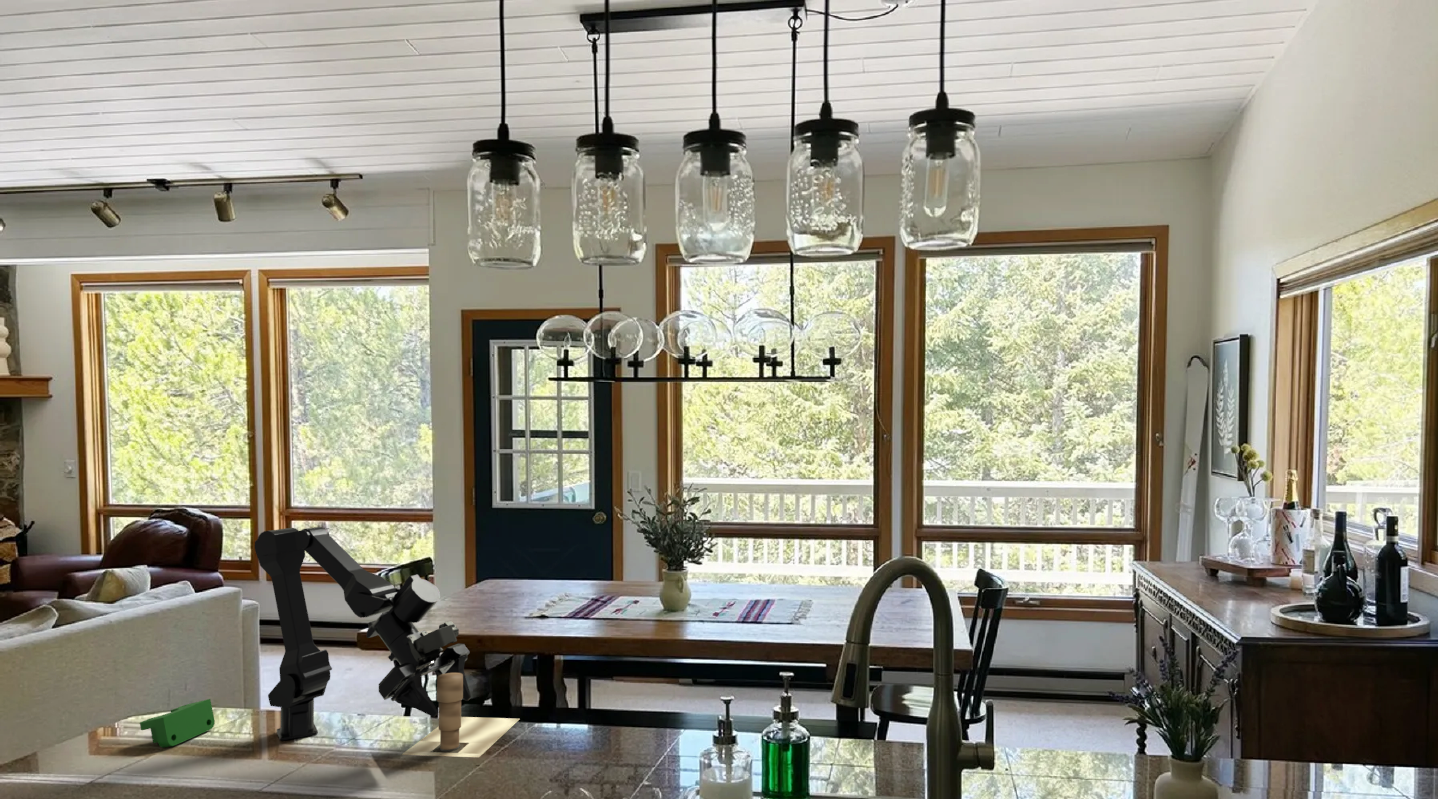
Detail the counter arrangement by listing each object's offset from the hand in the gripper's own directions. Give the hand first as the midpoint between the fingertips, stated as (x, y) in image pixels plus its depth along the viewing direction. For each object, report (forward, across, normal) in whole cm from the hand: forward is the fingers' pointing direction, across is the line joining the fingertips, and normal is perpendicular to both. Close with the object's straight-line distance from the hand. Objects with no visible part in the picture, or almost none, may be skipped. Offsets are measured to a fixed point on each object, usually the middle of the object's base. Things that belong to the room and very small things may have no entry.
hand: (453, 706), depth 150 cm
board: (+5, +6, +8) cm, 11 cm away
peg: (+6, 0, +7) cm, 9 cm away
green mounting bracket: (-33, -9, +46) cm, 58 cm away
